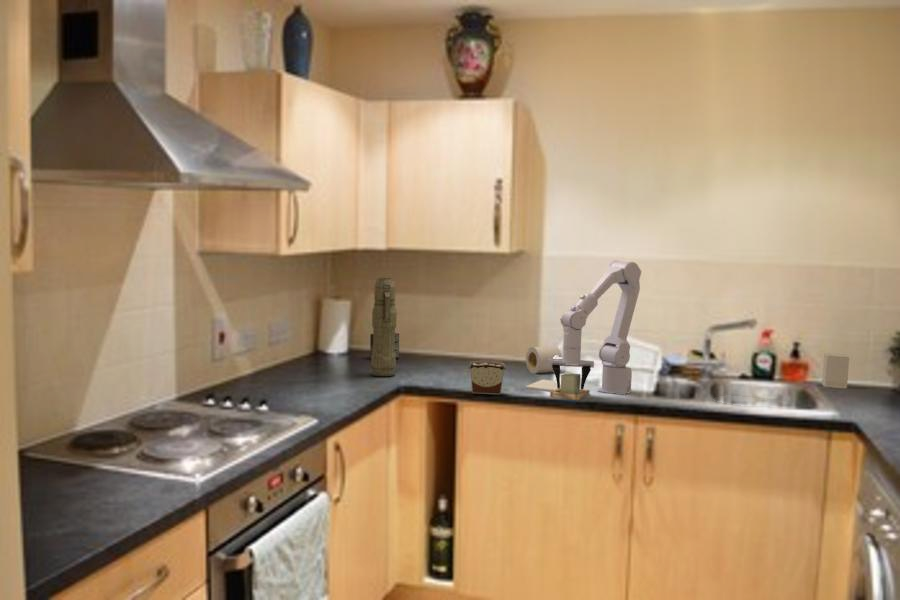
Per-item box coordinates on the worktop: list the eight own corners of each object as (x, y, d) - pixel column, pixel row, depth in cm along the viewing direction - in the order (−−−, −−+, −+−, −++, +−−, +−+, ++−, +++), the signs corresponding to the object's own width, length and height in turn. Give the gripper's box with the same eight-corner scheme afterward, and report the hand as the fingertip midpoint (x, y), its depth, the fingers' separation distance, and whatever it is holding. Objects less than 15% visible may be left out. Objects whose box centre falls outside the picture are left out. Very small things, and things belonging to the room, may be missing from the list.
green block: (579, 395, 259) (580, 374, 258) (573, 398, 254) (574, 376, 253) (566, 393, 261) (567, 372, 260) (560, 396, 256) (561, 375, 255)
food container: (505, 390, 262) (506, 361, 261) (505, 394, 256) (506, 364, 255) (468, 389, 263) (469, 359, 262) (467, 392, 257) (468, 362, 256)
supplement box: (847, 392, 276) (849, 357, 274) (823, 390, 278) (826, 355, 277) (843, 388, 282) (846, 354, 281) (821, 386, 285) (823, 352, 284)
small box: (390, 356, 325) (390, 331, 324) (399, 358, 320) (400, 333, 319) (369, 358, 318) (369, 333, 318) (378, 361, 314) (378, 335, 313)
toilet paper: (547, 369, 305) (548, 344, 304) (561, 374, 296) (562, 348, 295) (525, 371, 300) (526, 345, 300) (538, 375, 291) (539, 349, 291)
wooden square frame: (589, 394, 260) (589, 390, 260) (578, 400, 250) (578, 395, 250) (562, 390, 264) (562, 386, 264) (550, 396, 255) (550, 392, 255)
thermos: (376, 377, 279) (378, 279, 276) (367, 371, 290) (368, 277, 287) (400, 376, 282) (402, 279, 279) (389, 370, 293) (391, 277, 290)
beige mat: (571, 385, 274) (571, 383, 274) (555, 392, 261) (555, 390, 261) (542, 381, 280) (542, 379, 280) (525, 388, 267) (525, 386, 266)
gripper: (593, 346, 259) (591, 386, 261) (549, 344, 260) (547, 384, 262) (595, 349, 252) (593, 391, 254) (550, 347, 253) (548, 389, 255)
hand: (570, 388), depth 257 cm, fingers open, 7 cm apart
